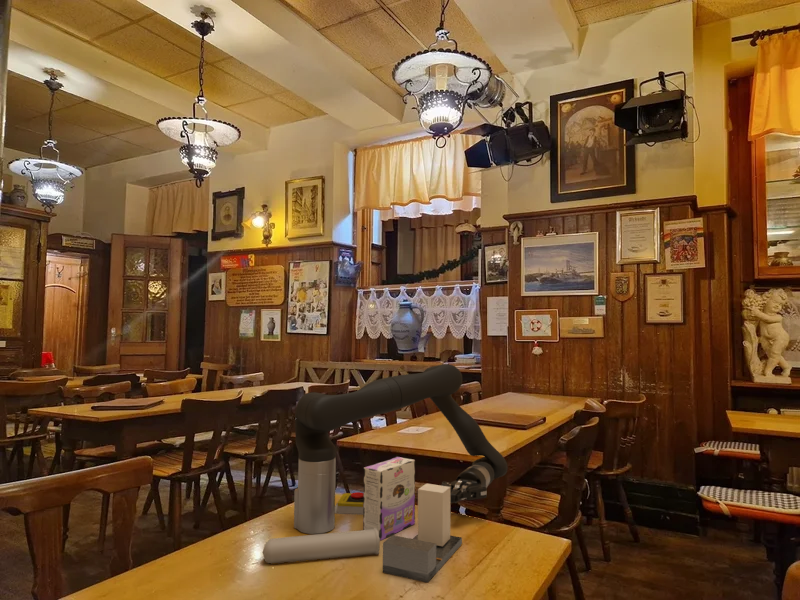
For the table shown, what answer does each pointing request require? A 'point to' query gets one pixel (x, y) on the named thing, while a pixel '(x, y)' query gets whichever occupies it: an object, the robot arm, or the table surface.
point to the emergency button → (350, 504)
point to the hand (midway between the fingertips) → (452, 498)
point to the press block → (434, 514)
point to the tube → (322, 546)
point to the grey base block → (416, 556)
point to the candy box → (389, 496)
